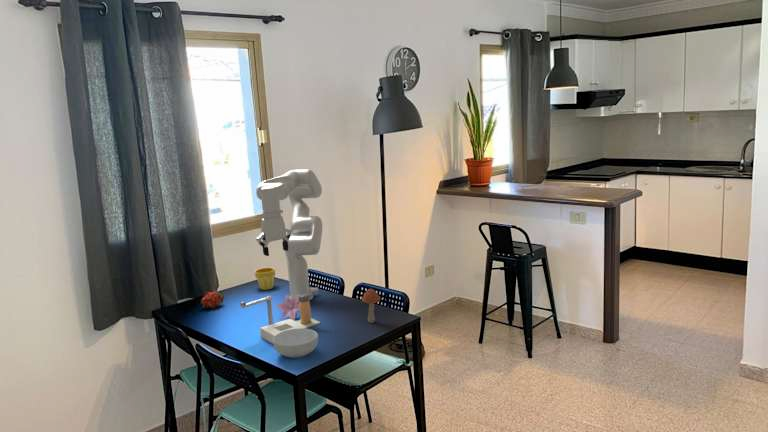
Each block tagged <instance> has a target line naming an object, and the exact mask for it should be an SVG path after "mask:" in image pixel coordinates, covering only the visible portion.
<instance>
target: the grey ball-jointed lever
mask: <svg viewBox="0 0 768 432" xmlns="http://www.w3.org/2000/svg"><path fill="white" fill-rule="evenodd" d="M268 300H271V301H272V300H273V297H272V296H271V295H268V296H265V297H262V298H260V299H256V300H253V301H250V302H245V301H241V302H239V305H240V308H241V309H245V308H249V307H252V306H254V305H257V304H260V303H261V304H262V303H263V302H267V301H268Z"/></svg>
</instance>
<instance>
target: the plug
mask: <svg viewBox="0 0 768 432" xmlns="http://www.w3.org/2000/svg"><path fill="white" fill-rule="evenodd" d="M298 300H299V302H298V305H299V310H298V311H299V317H300V318H299V320H301V324H309V323H311V318H312V314H311V304H310V301H311V300H309V295H308V294H302V295H299V296H298Z"/></svg>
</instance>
